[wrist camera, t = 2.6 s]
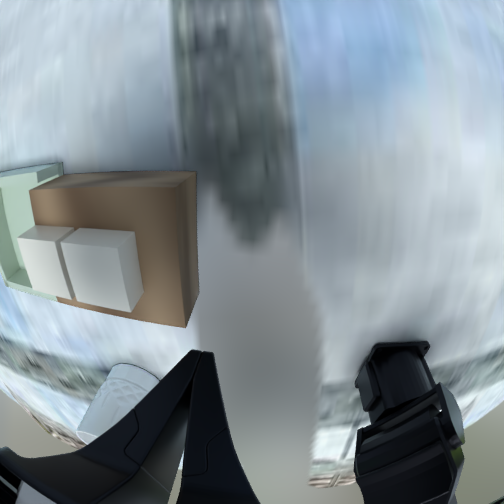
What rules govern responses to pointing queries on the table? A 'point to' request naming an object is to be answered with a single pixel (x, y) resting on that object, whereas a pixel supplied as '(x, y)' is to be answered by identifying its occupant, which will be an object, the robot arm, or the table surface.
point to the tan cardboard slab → (142, 223)
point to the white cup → (115, 400)
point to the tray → (20, 221)
